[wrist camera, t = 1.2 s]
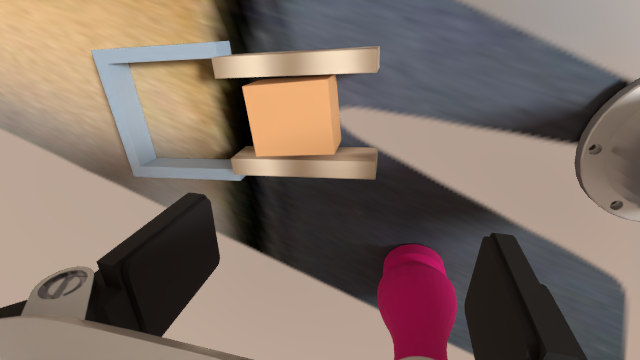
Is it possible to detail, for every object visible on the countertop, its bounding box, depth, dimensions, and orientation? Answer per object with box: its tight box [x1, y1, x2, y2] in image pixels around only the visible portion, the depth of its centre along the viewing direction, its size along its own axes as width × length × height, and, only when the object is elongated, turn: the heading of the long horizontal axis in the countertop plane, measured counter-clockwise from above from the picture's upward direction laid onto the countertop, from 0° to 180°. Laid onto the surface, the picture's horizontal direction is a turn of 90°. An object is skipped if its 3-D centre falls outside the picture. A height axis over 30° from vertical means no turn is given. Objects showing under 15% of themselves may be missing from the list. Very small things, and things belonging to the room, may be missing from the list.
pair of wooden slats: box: [211, 46, 379, 179], centre depth 27 cm, size 13×10×4 cm
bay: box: [91, 41, 246, 181], centre depth 30 cm, size 12×12×2 cm
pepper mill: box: [377, 244, 457, 360], centre depth 25 cm, size 7×7×20 cm
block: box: [242, 74, 341, 157], centre depth 27 cm, size 7×6×4 cm
